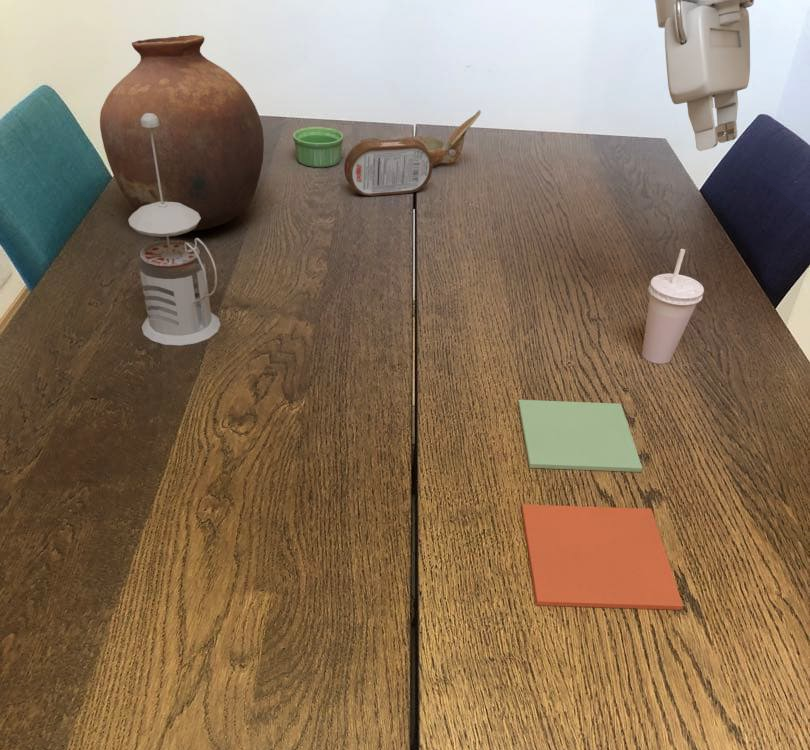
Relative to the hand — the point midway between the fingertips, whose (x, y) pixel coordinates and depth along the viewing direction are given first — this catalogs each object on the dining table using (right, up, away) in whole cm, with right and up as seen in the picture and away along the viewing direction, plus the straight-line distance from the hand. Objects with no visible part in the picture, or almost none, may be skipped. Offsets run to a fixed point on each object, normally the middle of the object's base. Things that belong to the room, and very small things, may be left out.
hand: (718, 145), depth 85 cm
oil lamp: (-30, +28, +66) cm, 78 cm away
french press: (-60, -14, +19) cm, 65 cm away
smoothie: (0, -18, +19) cm, 26 cm away
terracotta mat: (-15, -43, -8) cm, 46 cm away
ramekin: (-48, +28, +64) cm, 85 cm away
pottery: (-65, +9, +43) cm, 79 cm away
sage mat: (-13, -30, +6) cm, 33 cm away
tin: (-35, +18, +55) cm, 67 cm away
